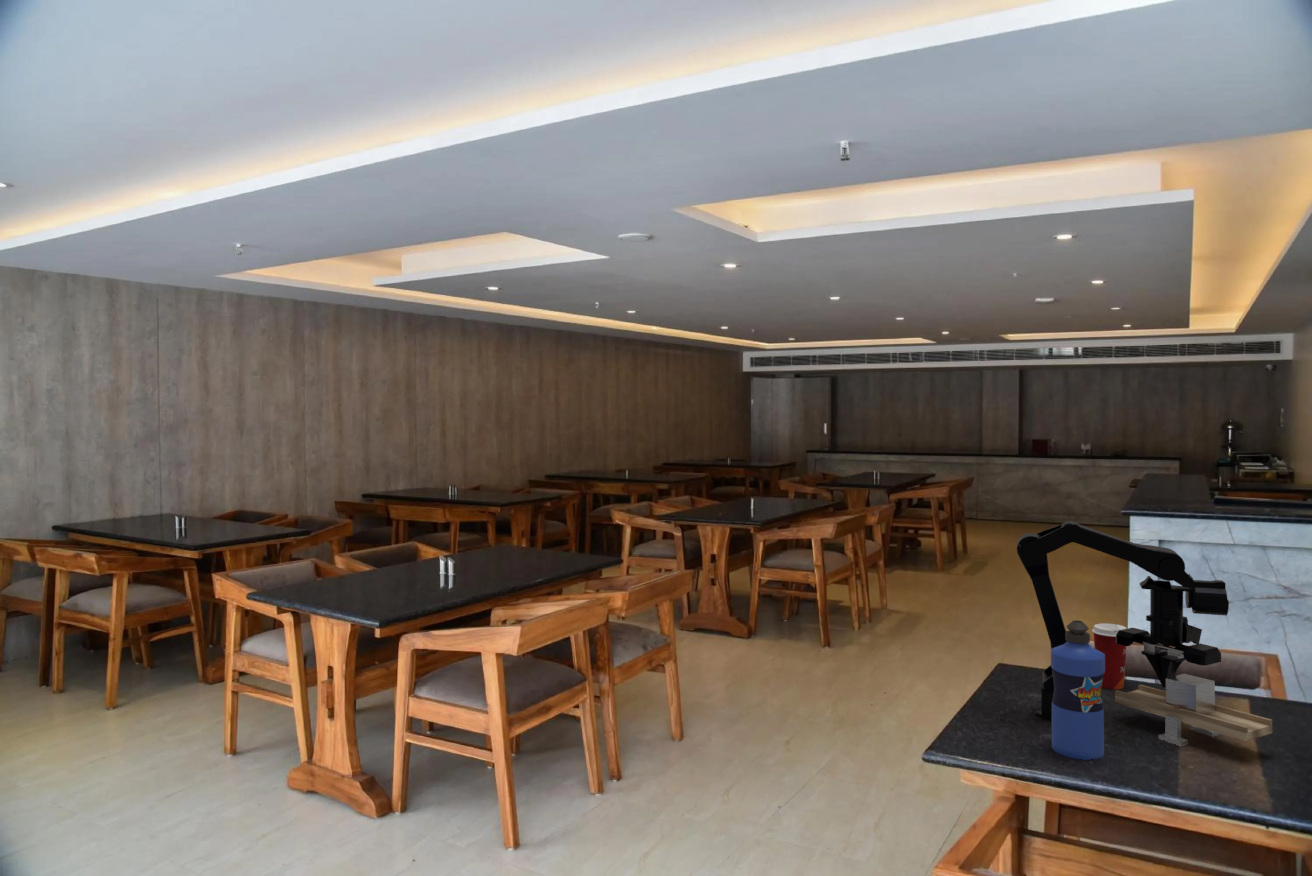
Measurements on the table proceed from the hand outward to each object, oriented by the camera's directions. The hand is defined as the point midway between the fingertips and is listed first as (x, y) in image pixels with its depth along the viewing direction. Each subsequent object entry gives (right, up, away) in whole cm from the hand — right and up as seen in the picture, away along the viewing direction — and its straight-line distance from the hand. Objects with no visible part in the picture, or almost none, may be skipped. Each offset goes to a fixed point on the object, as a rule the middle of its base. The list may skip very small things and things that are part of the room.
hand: (1166, 687), depth 176 cm
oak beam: (+2, -5, -4) cm, 7 cm away
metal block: (+2, -3, -4) cm, 6 cm away
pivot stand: (+2, -9, -4) cm, 10 cm away
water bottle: (-23, -10, -10) cm, 26 cm away
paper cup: (+3, -8, +28) cm, 29 cm away
